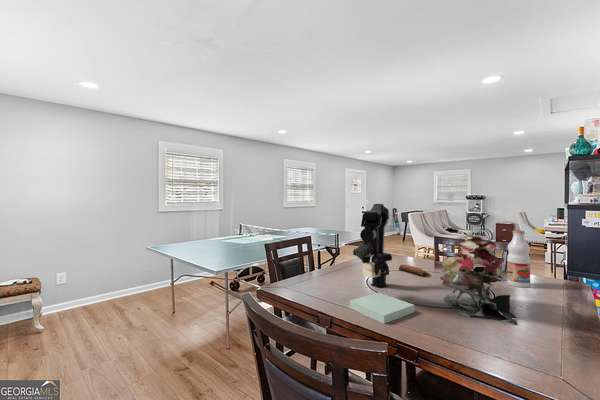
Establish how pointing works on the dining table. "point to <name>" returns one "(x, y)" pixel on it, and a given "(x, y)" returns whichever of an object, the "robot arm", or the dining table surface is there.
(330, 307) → the dining table surface
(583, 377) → the dining table surface
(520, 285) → the fruit juice
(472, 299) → the rose bouquet
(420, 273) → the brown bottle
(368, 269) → the maple cube
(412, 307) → the platform
